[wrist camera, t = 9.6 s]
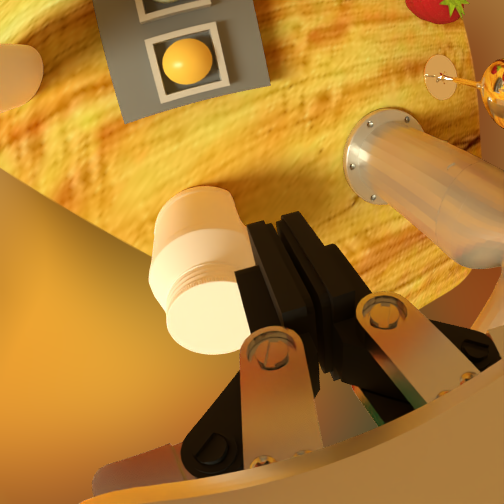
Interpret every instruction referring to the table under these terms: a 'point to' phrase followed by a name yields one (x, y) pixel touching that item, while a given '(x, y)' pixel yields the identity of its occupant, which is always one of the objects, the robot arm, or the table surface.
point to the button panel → (168, 32)
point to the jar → (201, 269)
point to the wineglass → (467, 84)
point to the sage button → (165, 1)
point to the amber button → (187, 61)
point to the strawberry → (437, 10)
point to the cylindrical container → (18, 74)
